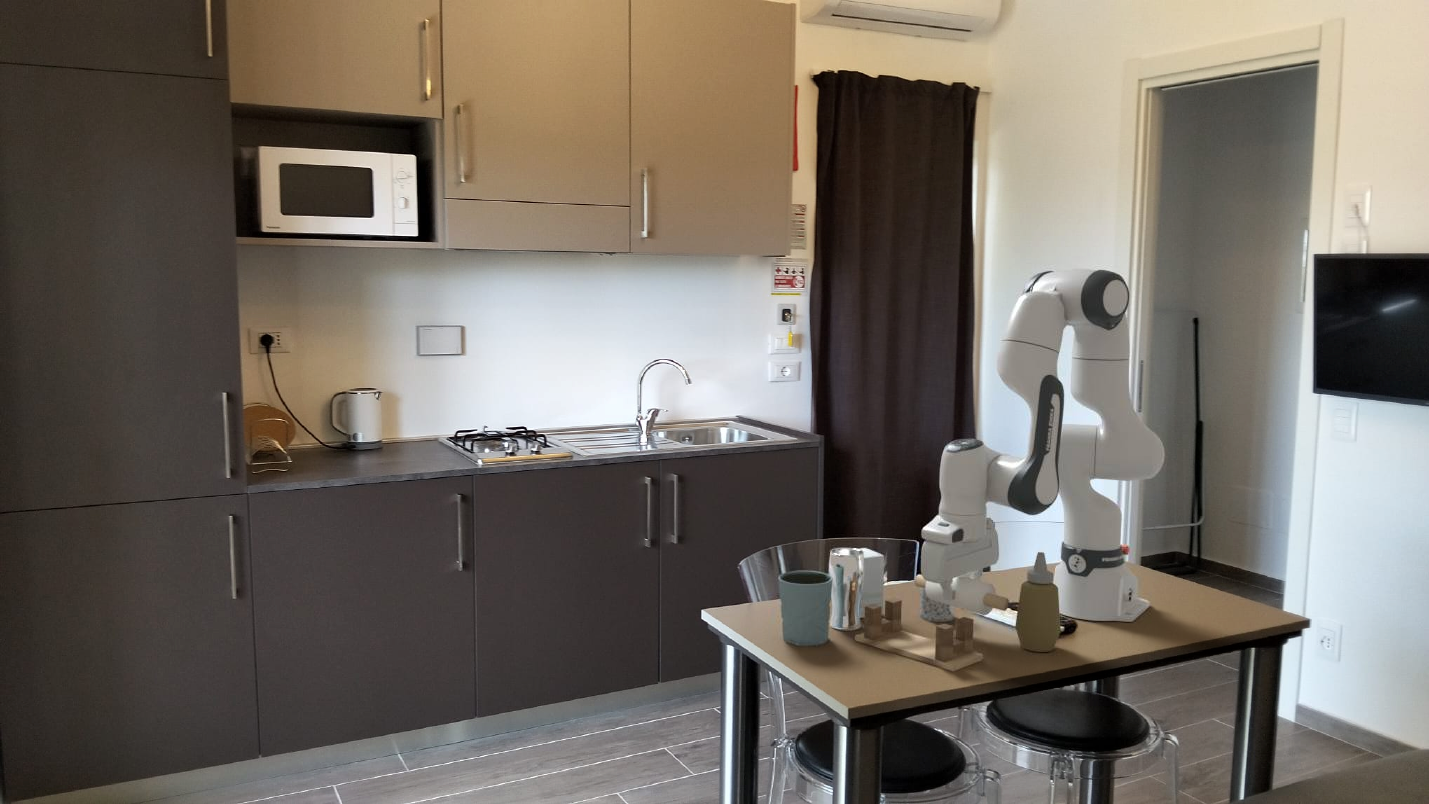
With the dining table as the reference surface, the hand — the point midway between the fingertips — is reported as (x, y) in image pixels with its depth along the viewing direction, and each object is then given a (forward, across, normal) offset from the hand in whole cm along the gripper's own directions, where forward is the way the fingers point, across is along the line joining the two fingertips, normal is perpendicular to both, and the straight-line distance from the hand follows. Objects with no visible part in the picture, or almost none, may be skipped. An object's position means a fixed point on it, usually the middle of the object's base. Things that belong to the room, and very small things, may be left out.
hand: (960, 595), depth 202 cm
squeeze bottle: (+8, -5, +14) cm, 17 cm away
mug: (+9, -7, -11) cm, 16 cm away
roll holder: (+7, +13, 0) cm, 15 cm away
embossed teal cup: (+7, +25, -17) cm, 31 cm away
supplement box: (+8, +4, -22) cm, 24 cm away
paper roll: (+2, 0, 0) cm, 2 cm away
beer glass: (+8, +13, -18) cm, 23 cm away
